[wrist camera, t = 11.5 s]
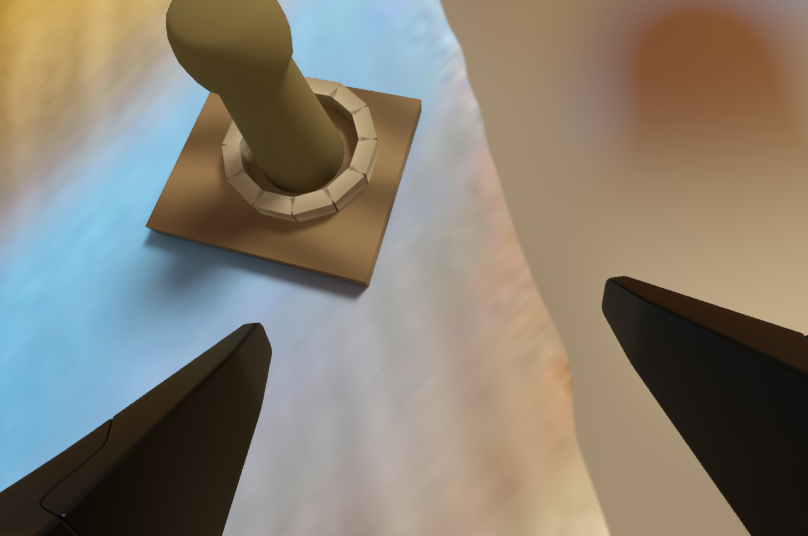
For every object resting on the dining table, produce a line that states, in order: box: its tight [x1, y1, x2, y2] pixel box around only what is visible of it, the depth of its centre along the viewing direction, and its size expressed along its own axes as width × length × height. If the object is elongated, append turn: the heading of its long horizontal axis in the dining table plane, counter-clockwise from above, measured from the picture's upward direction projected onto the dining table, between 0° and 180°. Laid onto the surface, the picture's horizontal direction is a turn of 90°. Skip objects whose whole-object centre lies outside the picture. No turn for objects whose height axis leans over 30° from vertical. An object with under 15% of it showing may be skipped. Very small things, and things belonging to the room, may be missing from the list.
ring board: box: [145, 77, 421, 286], centre depth 25 cm, size 14×16×2 cm
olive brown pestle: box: [166, 0, 345, 193], centre depth 20 cm, size 6×6×11 cm
